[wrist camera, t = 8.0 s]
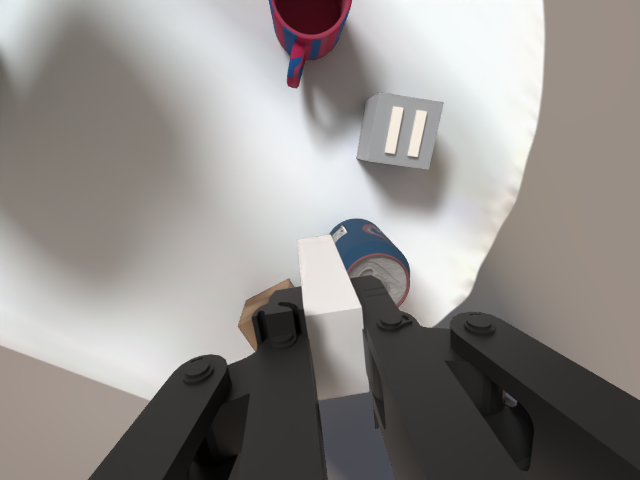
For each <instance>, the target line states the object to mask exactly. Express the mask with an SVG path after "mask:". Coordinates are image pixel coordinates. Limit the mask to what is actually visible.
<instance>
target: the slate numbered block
mask: <svg viewBox="0 0 640 480" xmlns="http://www.w3.org/2000/svg"><path fill="white" fill-rule="evenodd" d="M443 103H444V102H438V101H431V100H425V99H419V98H413V97H407V96H400V95H394V94H388V93H382V92H379V93H377V94H375V95H374V96H372V97H371V98H369V99H367V100H366V102H365V108H364V114H363V120H362V127H361V133H360V139H359V145H358V151H357V159H361V160H365V161H369V162H377V163H384V164H391V165H398V166H406V167H413V168H420V169H427V170H429V166H430V162H431V157H432V153H433V148H434V144H435V139H436V135H437V130H438V126H439V121H440V117H441V112H442V108H443Z"/></svg>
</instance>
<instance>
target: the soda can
mask: <svg viewBox="0 0 640 480" xmlns="http://www.w3.org/2000/svg"><path fill="white" fill-rule="evenodd" d="M329 235H331V237H332V239H333V241H334V244H335V246H336V248H337V251H338V253H339V255H340V258H341V260H342V262H343V265H344V267H345V269H346V272H347V274H348V276H349V278H354V277H361V276H367V275H372V276H374V277H376V278H377V279H379V280H381V282H382V284H383V285H384V287H385V288H386V290H387V291H388V294H389V295H390V296H391V298H392V299H393V301H394V302H395V304H396V306H397V307H399V306H400V305H401V304H402V303H403V302H404V300H405V298H406V297H407V294H408V292H409V287H410V268H409V264H408V262H407V260H406V258H405V256H404V255H403V254H402V253H401V251H400V250H399V249H398V248H397V247H396V246H395V245H394V244H393V243H392V242H391V241H390V240H389V239H388V238H387V237H386V236H385V235H384V234H383V232H382V231H381V230H380V229H379V228H378V227H377V226H376V225H374V224H373V223H371V222H370V221H367V220H364V219H349V220H346V221H343V222H341V223H340V224H338V225H337V226H336V227H335V228H334V229H333V230H332V231H331V232H330V234H329Z"/></svg>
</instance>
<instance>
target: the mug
mask: <svg viewBox="0 0 640 480" xmlns="http://www.w3.org/2000/svg"><path fill="white" fill-rule="evenodd" d="M351 3H352V0H269V4H270V9H271V14H272V19H273V24H274V29H275V33H276V36H277V38H278V40H279V42H280V44H281V45H282V46H283V48H284V49H285V50H286V51H287V52H288V53H290V54H291V58H290V63H289V68H288V74H287V85H288V86H289V87H291V88H297V87H298V86H299V83H300V79H301V75H302V71H303V67H304V64H305V60H314V59H318V58H320V57H323V56H324V55H326V54H327V53H329V52H330V51H331V50H332V49H333V47H334V46H335V44H336V43H337V41H338V39H339V36H340V34H341V31H342V29H343V26H344V24H345V21H346V18H347V16H348V13H349V10H350V7H351Z"/></svg>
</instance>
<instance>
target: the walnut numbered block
mask: <svg viewBox="0 0 640 480" xmlns="http://www.w3.org/2000/svg"><path fill="white" fill-rule="evenodd" d="M288 288H294V286H293V284H292V283H291V281H290V279H287V280H285V281H283V282H281V283H279V284H277V285H275V286H273V287H271V288H269V289H267V290H266V291H264V292H262V293H260V294H258V295H256V296H254V297H252V298H250V299H248V300H246V302H245V305H244V308H243V312H242V315H241V318H240V321H239V324H238V328H239V329H240V330H241V332H242V333H243V335H244V336H245V338H246V339H247V340H248V342H249V343H250V345H251V346H252V348H253V349H254V351H255V352H256V350H257V342H256V337H255V332H254V327H253V323H252V318H251V317H252V315H253V313H254V311H255V310H257V309H258V308H259V307H260V306H263V305H265V304H267V303H268V302H269V297H270V296H271V295H272V294H273V293H274V291H275V290H281V289H288Z"/></svg>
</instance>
